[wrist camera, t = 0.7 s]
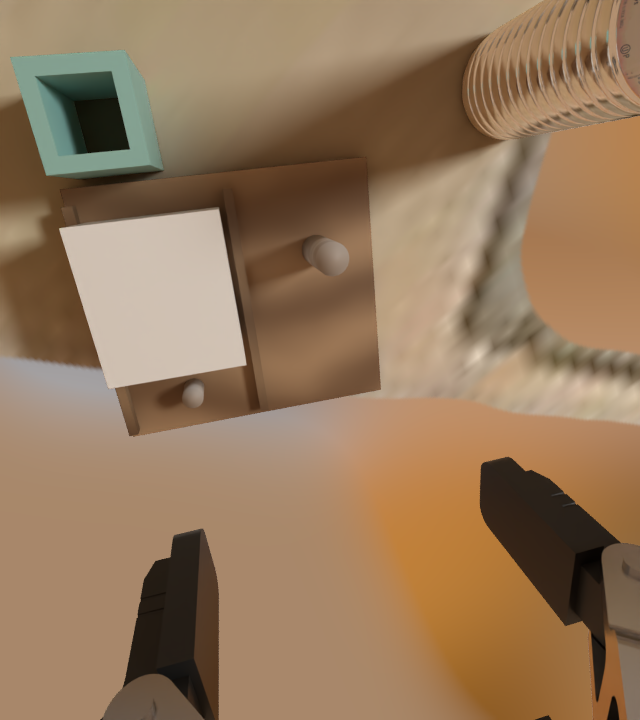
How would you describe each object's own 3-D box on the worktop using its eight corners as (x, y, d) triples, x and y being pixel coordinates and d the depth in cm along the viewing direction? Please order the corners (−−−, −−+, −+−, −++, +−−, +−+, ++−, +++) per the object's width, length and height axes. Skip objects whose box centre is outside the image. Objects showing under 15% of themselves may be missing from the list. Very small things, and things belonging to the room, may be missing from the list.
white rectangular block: (86, 222, 27) (58, 228, 23) (218, 207, 28) (218, 209, 24) (125, 359, 31) (108, 389, 26) (242, 340, 32) (246, 365, 27)
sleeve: (54, 86, 26) (10, 57, 20) (144, 80, 27) (124, 50, 21) (80, 179, 28) (46, 175, 22) (163, 170, 28) (150, 164, 23)
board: (66, 189, 28) (26, 188, 22) (360, 158, 31) (393, 149, 25) (136, 428, 34) (119, 475, 28) (376, 383, 37) (404, 418, 31)
